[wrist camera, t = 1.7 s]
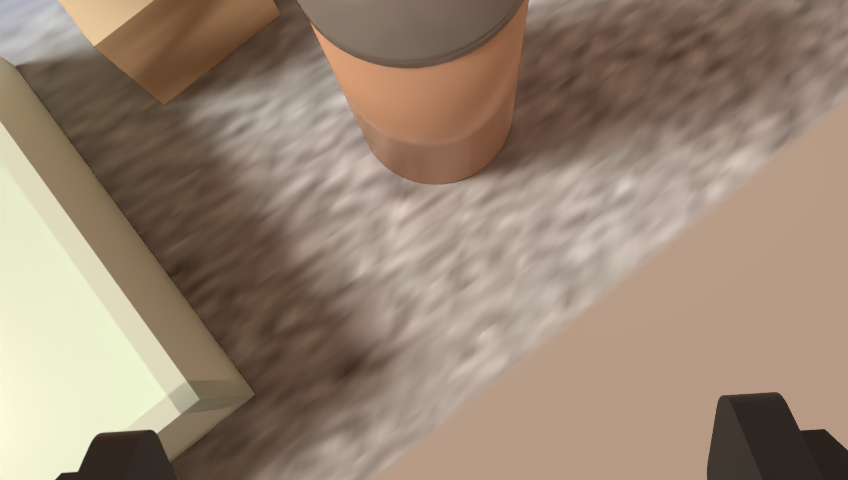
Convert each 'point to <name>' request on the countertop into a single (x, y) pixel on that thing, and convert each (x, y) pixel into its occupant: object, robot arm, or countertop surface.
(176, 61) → the maple block
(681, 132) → the countertop surface
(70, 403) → the tote
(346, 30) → the spice jar
